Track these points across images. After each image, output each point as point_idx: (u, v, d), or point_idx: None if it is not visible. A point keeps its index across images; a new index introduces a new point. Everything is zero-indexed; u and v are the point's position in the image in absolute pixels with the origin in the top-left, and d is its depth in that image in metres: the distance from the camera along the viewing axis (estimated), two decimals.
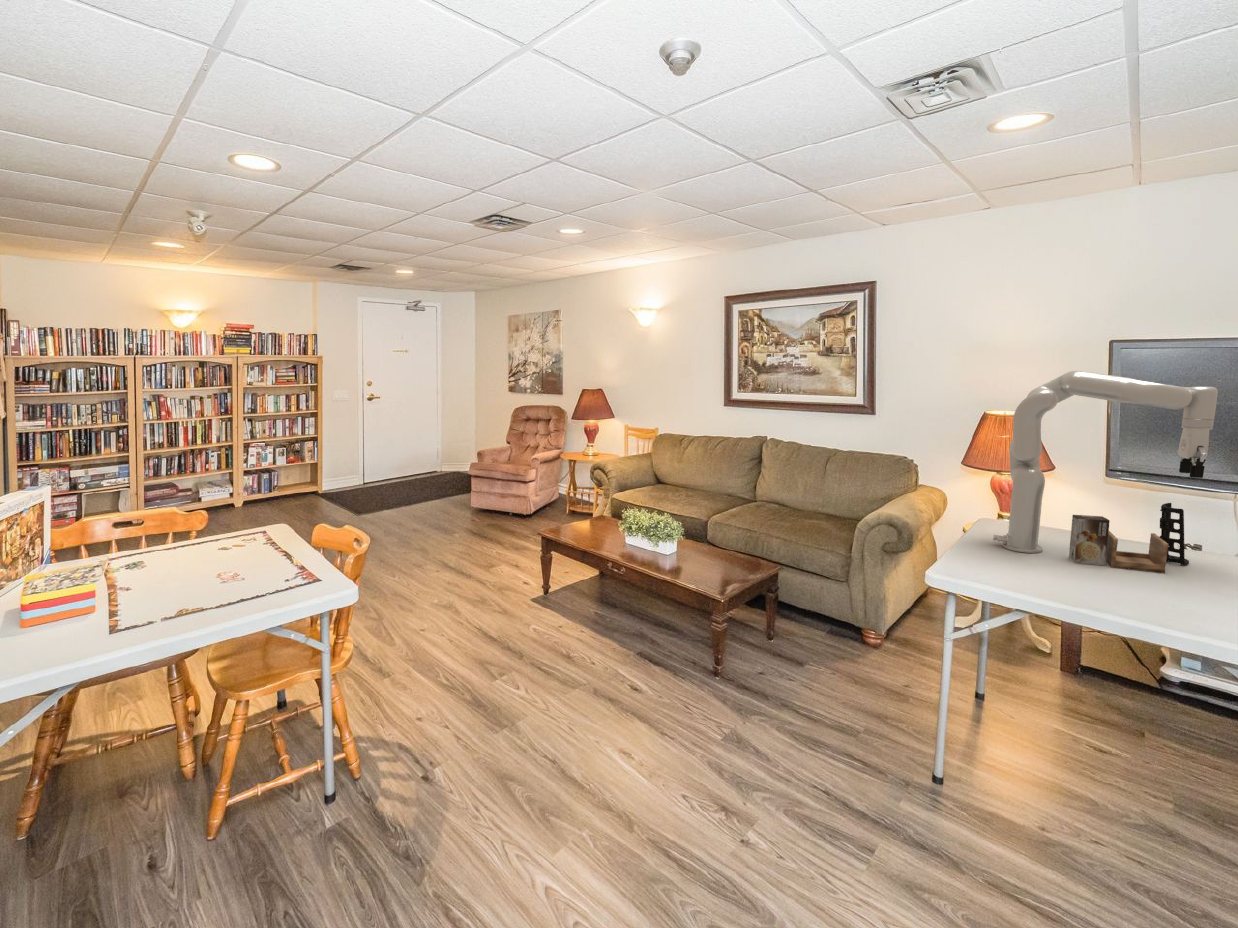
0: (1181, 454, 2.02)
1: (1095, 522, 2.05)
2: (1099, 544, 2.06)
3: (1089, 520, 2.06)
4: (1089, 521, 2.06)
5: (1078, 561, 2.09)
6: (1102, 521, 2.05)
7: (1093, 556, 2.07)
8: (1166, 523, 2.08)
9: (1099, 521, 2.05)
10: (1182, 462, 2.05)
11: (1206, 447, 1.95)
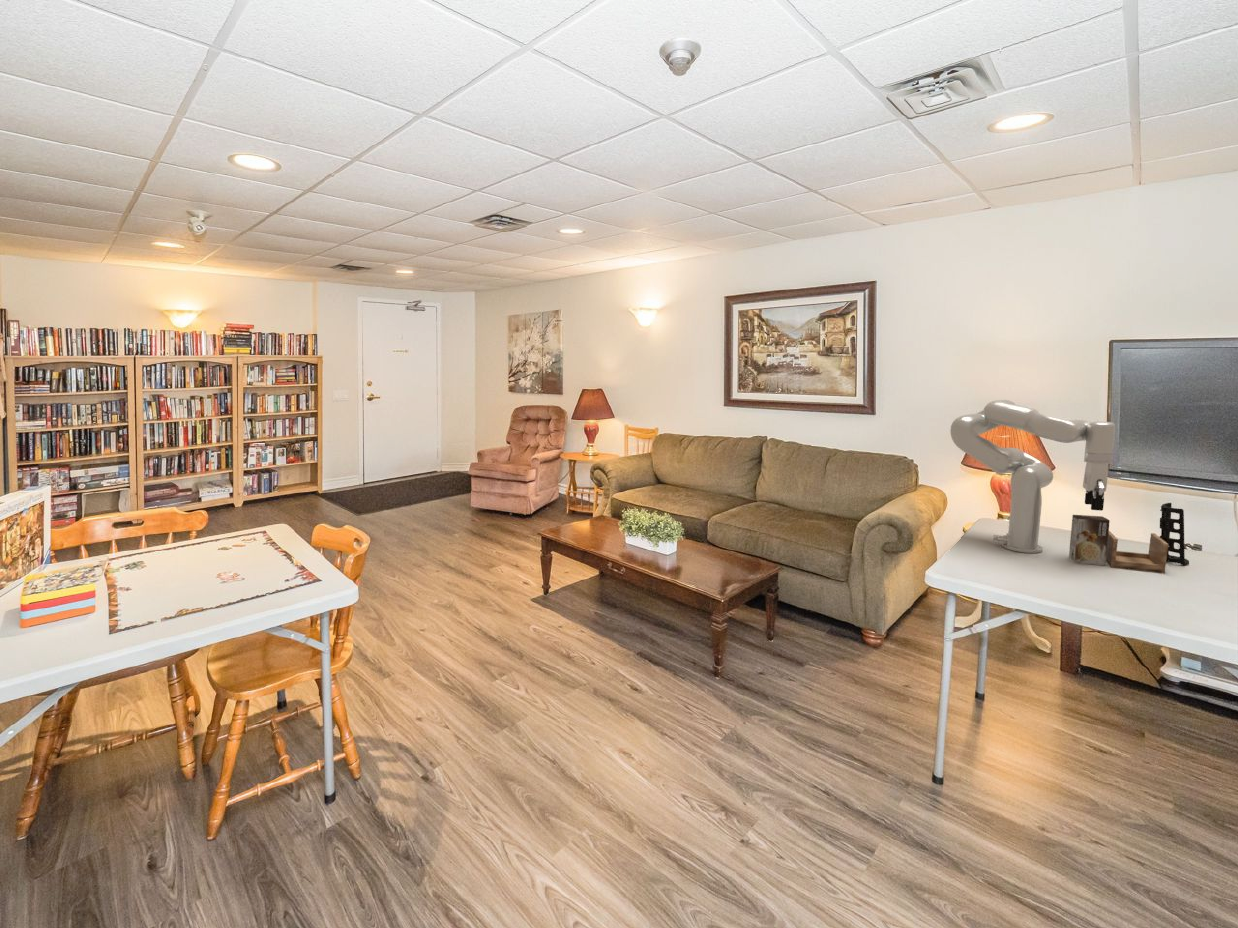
0: (1084, 487, 2.08)
1: (1095, 522, 2.05)
2: (1099, 544, 2.06)
3: (1089, 520, 2.06)
4: (1089, 521, 2.06)
5: (1078, 561, 2.09)
6: (1102, 521, 2.05)
7: (1093, 556, 2.07)
8: (1166, 523, 2.08)
9: (1099, 521, 2.05)
10: (1087, 494, 2.11)
11: (1105, 481, 2.01)
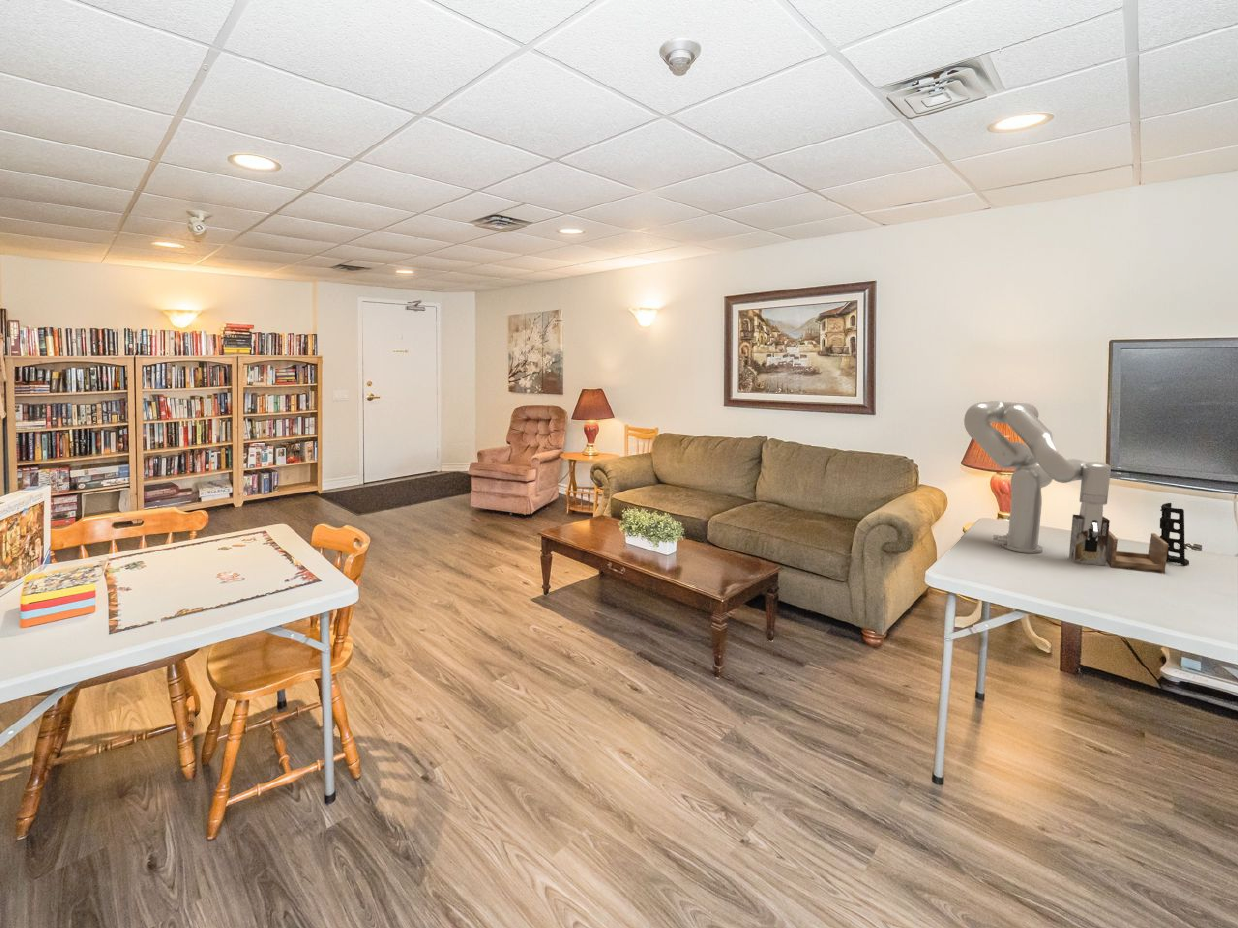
0: None
1: None
2: (1099, 544, 2.06)
3: None
4: None
5: (1078, 561, 2.09)
6: (1102, 521, 2.05)
7: (1093, 556, 2.07)
8: (1166, 523, 2.08)
9: None
10: None
11: (1100, 522, 2.03)
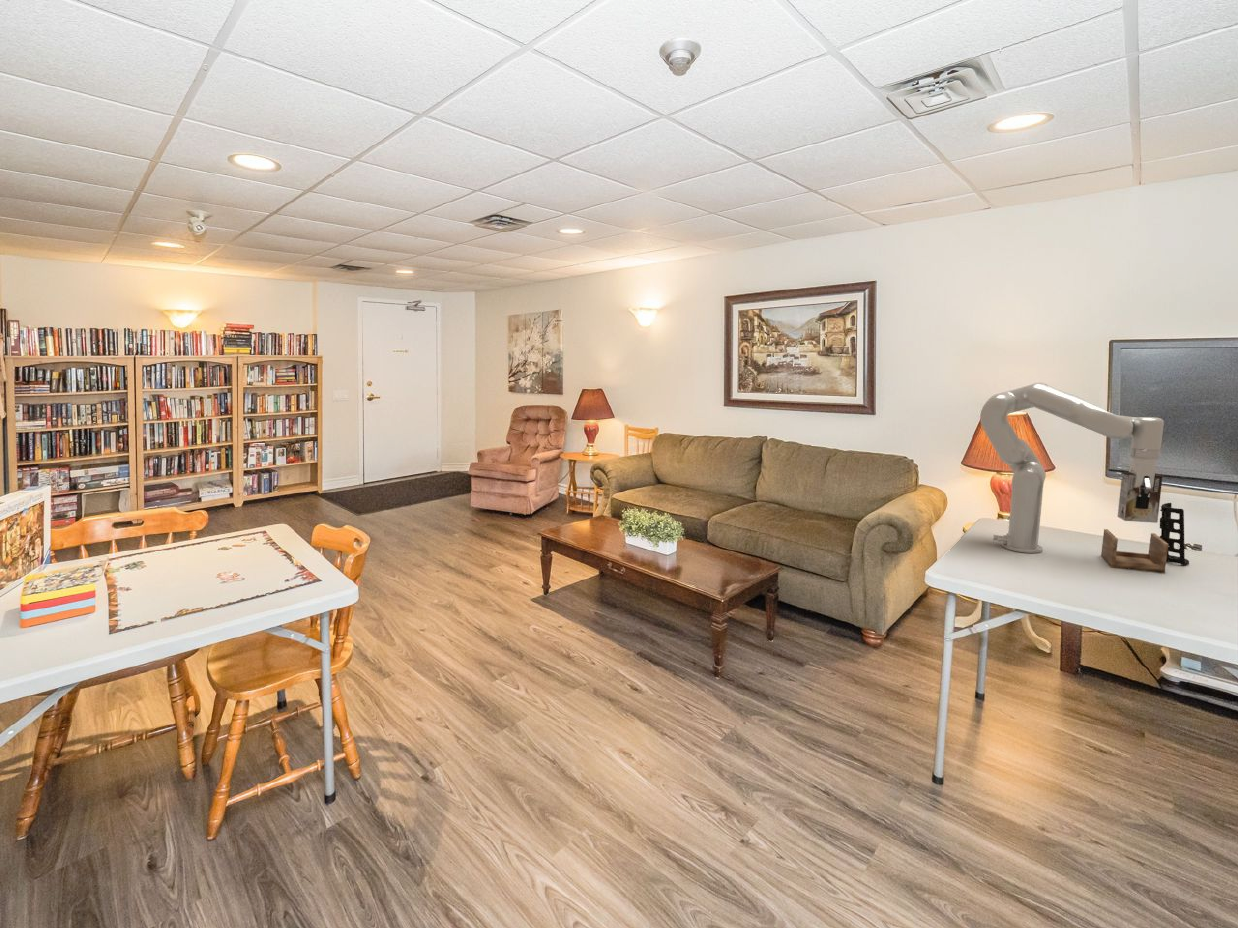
0: None
1: None
2: (1151, 501, 2.00)
3: None
4: None
5: (1128, 519, 2.03)
6: (1154, 477, 1.99)
7: (1145, 513, 2.01)
8: (1166, 523, 2.08)
9: None
10: None
11: (1152, 477, 1.98)
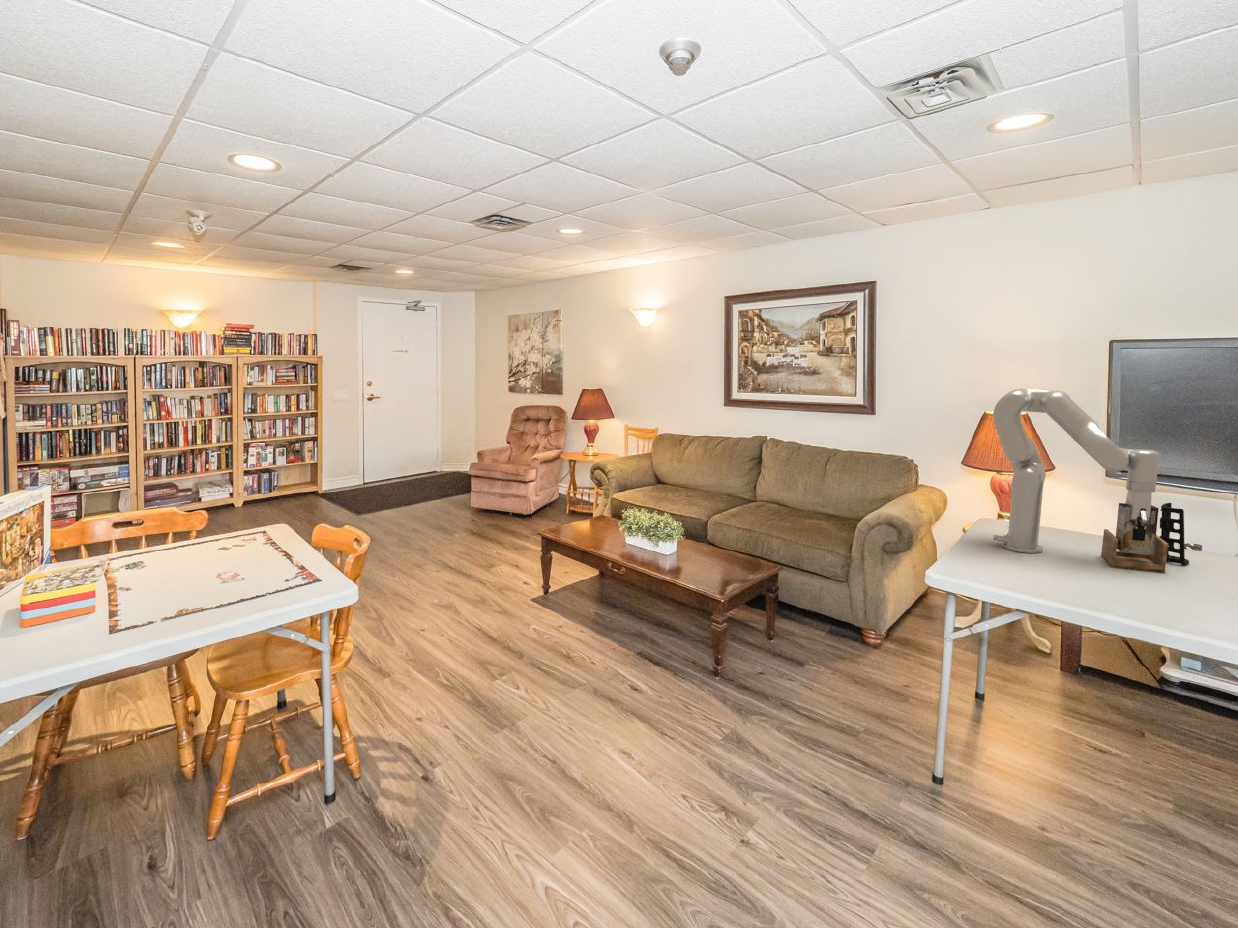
0: None
1: None
2: (1148, 533, 2.02)
3: None
4: None
5: (1125, 550, 2.05)
6: (1151, 509, 2.00)
7: (1142, 545, 2.03)
8: (1166, 523, 2.08)
9: None
10: None
11: (1148, 510, 1.99)
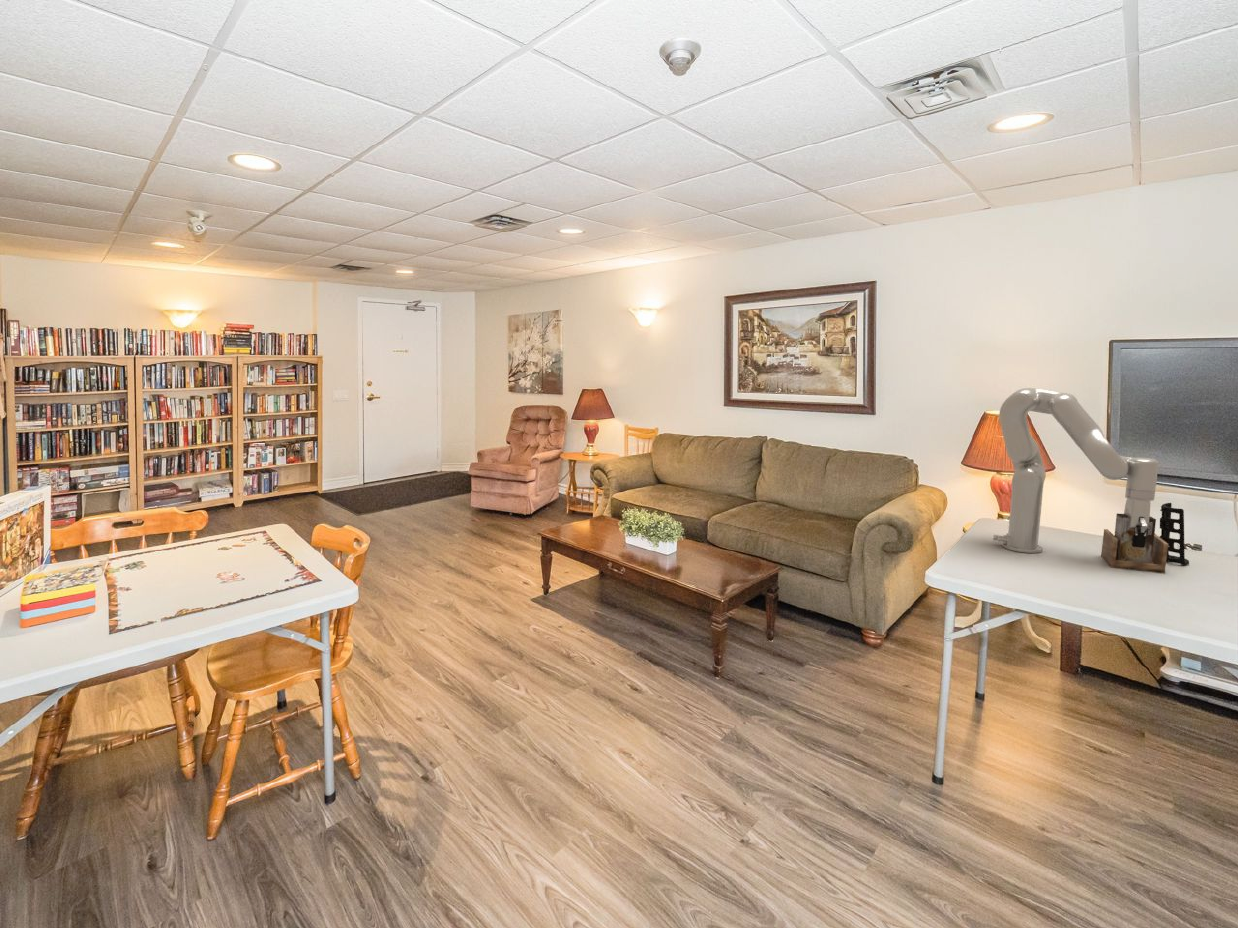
0: None
1: None
2: (1145, 543, 2.02)
3: None
4: None
5: None
6: None
7: (1139, 556, 2.04)
8: (1166, 523, 2.08)
9: None
10: None
11: (1147, 518, 2.00)
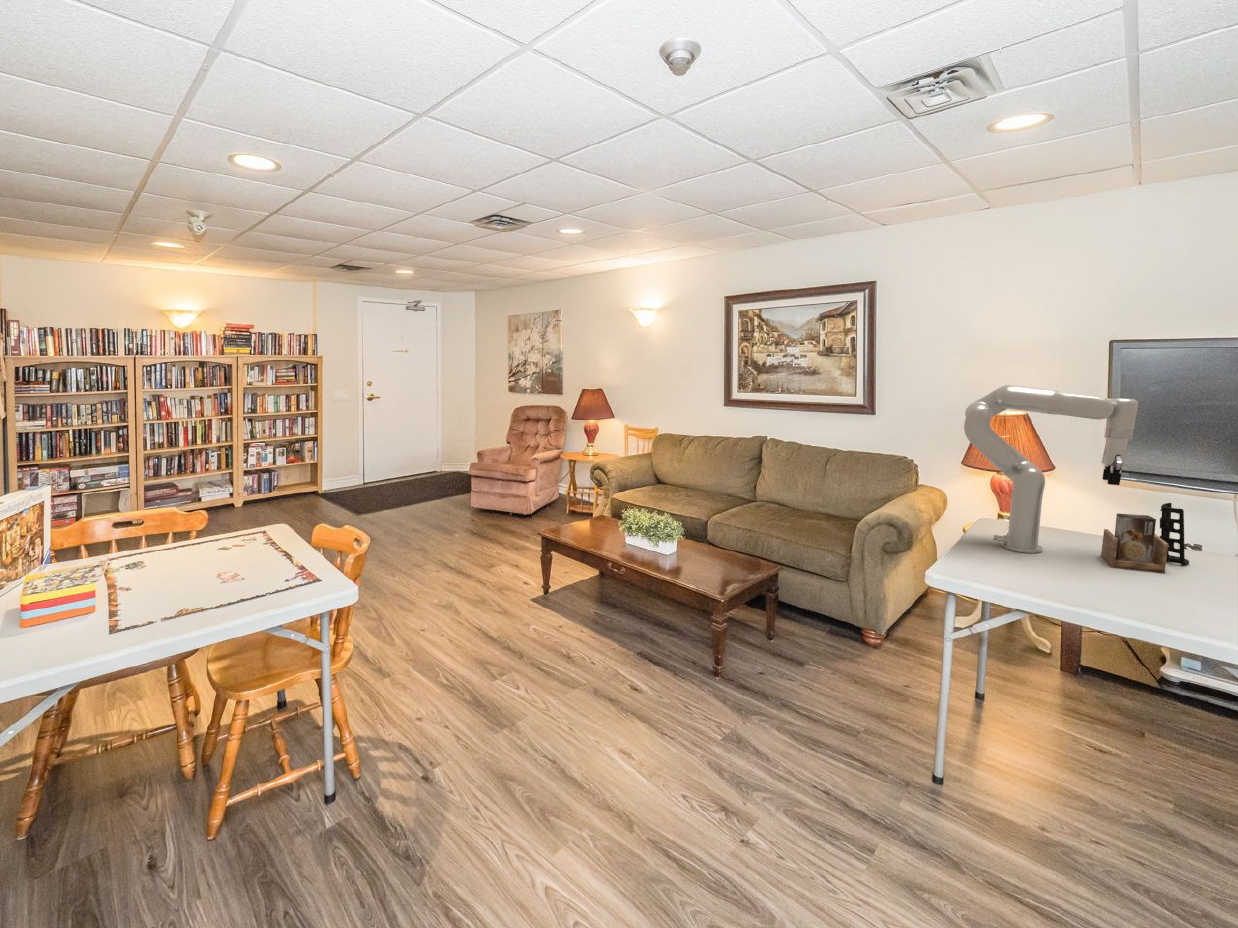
0: (1103, 462, 2.13)
1: (1140, 521, 2.02)
2: (1145, 543, 2.02)
3: (1134, 519, 2.03)
4: (1135, 520, 2.03)
5: None
6: (1148, 520, 2.01)
7: (1139, 556, 2.04)
8: (1166, 523, 2.08)
9: (1145, 520, 2.01)
10: (1105, 470, 2.16)
11: (1123, 456, 2.05)
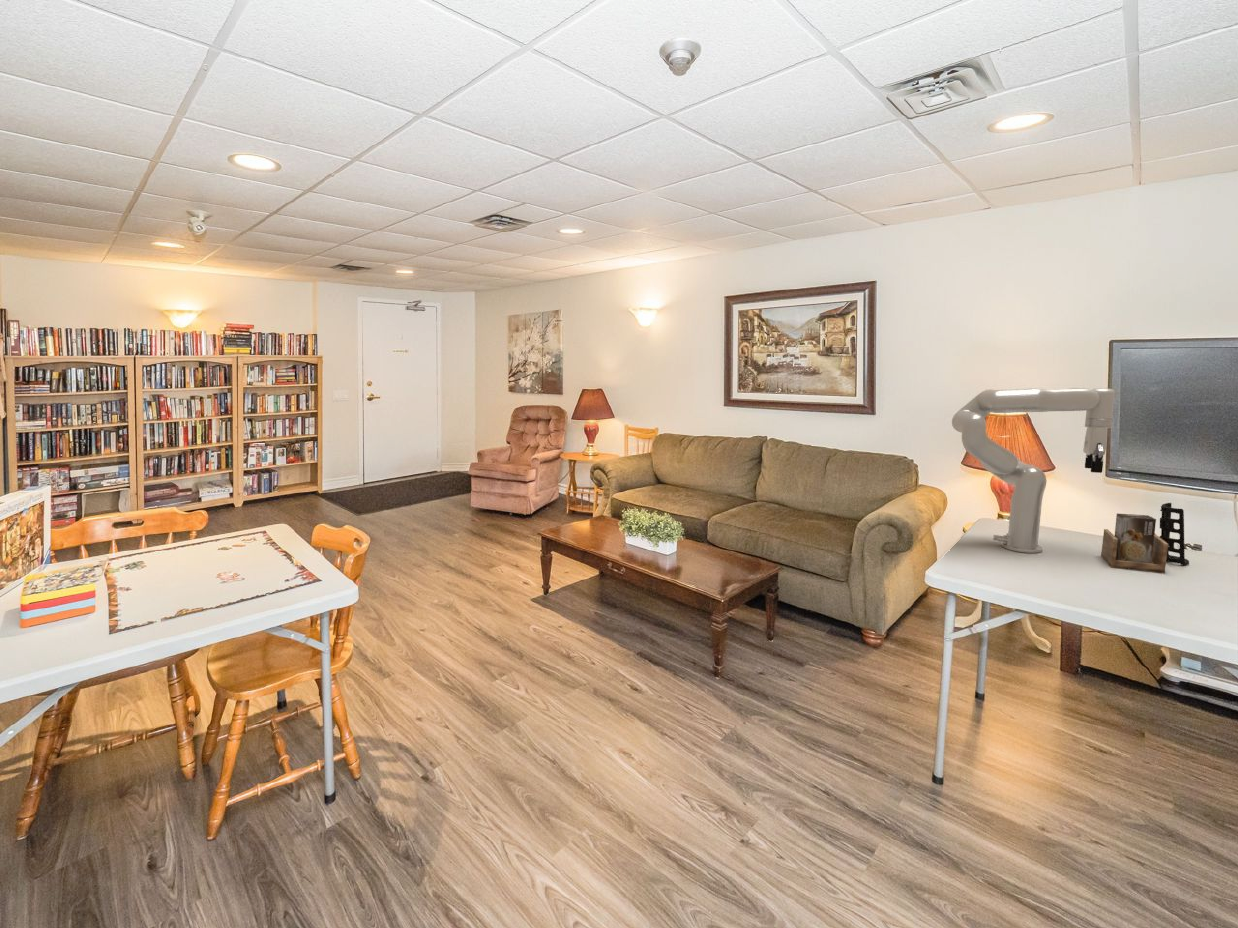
0: (1085, 451, 2.19)
1: (1140, 521, 2.02)
2: (1145, 543, 2.02)
3: (1134, 519, 2.03)
4: (1135, 520, 2.03)
5: None
6: (1148, 520, 2.01)
7: (1139, 556, 2.04)
8: (1166, 523, 2.08)
9: (1145, 520, 2.01)
10: (1087, 458, 2.22)
11: (1104, 444, 2.12)
